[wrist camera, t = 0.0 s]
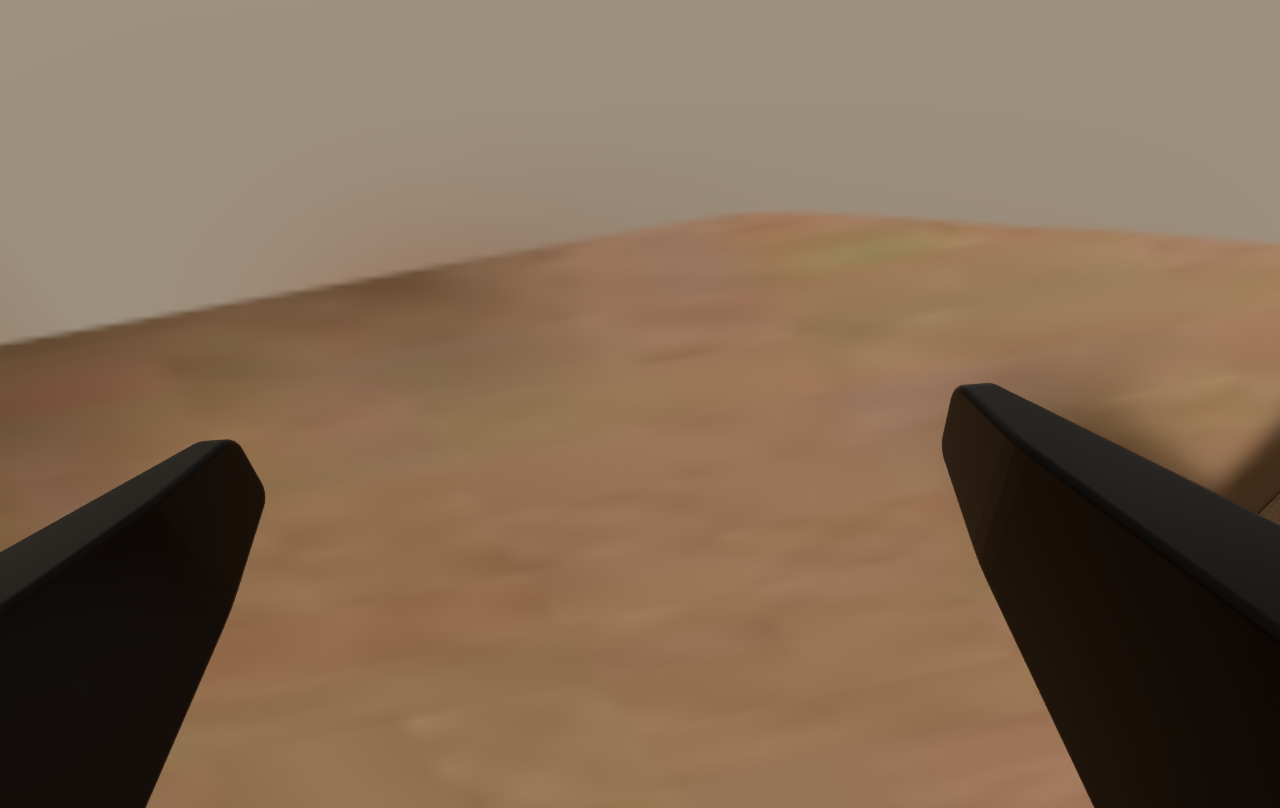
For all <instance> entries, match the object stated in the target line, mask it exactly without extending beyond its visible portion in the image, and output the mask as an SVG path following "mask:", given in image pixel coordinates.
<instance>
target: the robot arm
mask: <svg viewBox="0 0 1280 808" xmlns="http://www.w3.org/2000/svg"><path fill="white" fill-rule="evenodd" d="M942 452H943V457H944V461H945V464H946V467H947V470H948V473H949V476H950V479H951V482H952V485H953V488H954V491H955V494H956V497H957V500H958V503H959V506H960V509H961V512H962V515H963V518H964V521H965V524H966V527H967V530H968V533H969V536H970V539H971V542H972V545H973V548H974V550H975V553H976V556H977V559H978V561H979V564H980V566H981V569H982V571H983V573H984V575H985V578H986V580H987V582H988V584H989V586H990V588H991V591H992V593H993V595H994V597H995V599H996V601H997V603H998V605H999V608H1000V610H1001V612H1002V614H1003V616H1004V618H1005V620H1006V622H1007V624H1008V627H1009V629H1010V631H1011V633H1012V635H1013V637H1014V639H1015V641H1016V643H1017V646H1018V648H1019V650H1020V652H1021V654H1022V656H1023V658H1024V660H1025V662H1026V665H1027V667H1028V669H1029V671H1030V673H1031V675H1032V677H1033V679H1034V682H1035V684H1036V686H1037V688H1038V690H1039V692H1040V694H1041V696H1042V698H1043V701H1044V703H1045V705H1046V707H1047V709H1048V711H1049V713H1050V715H1051V717H1052V720H1053V722H1054V724H1055V726H1056V728H1057V730H1058V732H1059V734H1060V737H1061V739H1062V741H1063V743H1064V745H1065V747H1066V749H1067V751H1068V753H1069V756H1070V758H1071V760H1072V762H1073V764H1074V766H1075V768H1076V770H1077V772H1078V775H1079V777H1080V779H1081V781H1082V783H1083V785H1084V787H1085V789H1086V791H1087V794H1088V796H1089V798H1090V800H1091V802H1092V804H1093V806H1094V808H1280V525H1279V524H1277V523H1275V522H1273V521H1271V520H1269V519H1267V518H1265V517H1263V516H1261V515H1259V514H1257V513H1255V512H1253V511H1251V510H1249V509H1247V508H1245V507H1243V506H1241V505H1239V504H1237V503H1235V502H1233V501H1231V500H1229V499H1227V498H1225V497H1223V496H1220V495H1218V494H1216V493H1214V492H1212V491H1210V490H1208V489H1206V488H1204V487H1202V486H1200V485H1198V484H1196V483H1194V482H1192V481H1190V480H1188V479H1186V478H1184V477H1182V476H1180V475H1178V474H1176V473H1174V472H1172V471H1170V470H1168V469H1166V468H1164V467H1162V466H1160V465H1158V464H1156V463H1154V462H1152V461H1150V460H1148V459H1146V458H1144V457H1142V456H1139V455H1137V454H1135V453H1133V452H1131V451H1129V450H1127V449H1125V448H1123V447H1121V446H1119V445H1117V444H1115V443H1113V442H1111V441H1109V440H1107V439H1105V438H1103V437H1101V436H1099V435H1097V434H1095V433H1093V432H1091V431H1089V430H1087V429H1085V428H1083V427H1081V426H1079V425H1077V424H1075V423H1073V422H1071V421H1069V420H1067V419H1065V418H1063V417H1060V416H1058V415H1056V414H1054V413H1052V412H1050V411H1048V410H1046V409H1044V408H1042V407H1040V406H1038V405H1036V404H1034V403H1032V402H1030V401H1028V400H1026V399H1024V398H1022V397H1020V396H1018V395H1016V394H1014V393H1012V392H1010V391H1008V390H1006V389H1004V388H1002V387H1000V386H998V385H995V384H992V383H982V384H969V385H960V386H959V387H957V388H956V389H955V390H954V392H953V394H952V397H951V401H950V405H949V410H948V414H947V419H946V423H945V428H944V433H943V437H942ZM264 504H265V491H264V487H263V485H262V483H261V481H260V479H259V477H258V476H257V474H256V472H255V470H254V469H253V467H252V465H251V463H250V461H249V460H248V458H247V456H246V454H245V453H244V451H243V449H242V448H241V446H240V445H239V444H238V443H236V442H235V441H232V440H228V439H226V440H212V441H202V442H198V443H196V444H193V445H192V446H190V447H188V448H186V449H185V450H183V451H181V452H179V453H177V454H176V455H174V456H172V457H170V458H168V459H167V460H165V461H163V462H161V463H159V464H158V465H156V466H154V467H152V468H151V469H149V470H147V471H145V472H143V473H142V474H140V475H138V476H136V477H134V478H133V479H131V480H129V481H127V482H125V483H124V484H122V485H120V486H118V487H116V488H115V489H113V490H111V491H109V492H108V493H106V494H104V495H102V496H100V497H99V498H97V499H95V500H93V501H91V502H90V503H88V504H86V505H84V506H82V507H81V508H79V509H77V510H75V511H74V512H72V513H70V514H68V515H66V516H65V517H63V518H61V519H59V520H57V521H56V522H54V523H52V524H50V525H48V526H47V527H45V528H43V529H41V530H39V531H38V532H36V533H34V534H32V535H31V536H29V537H27V538H25V539H23V540H22V541H20V542H18V543H16V544H14V545H13V546H11V547H9V548H7V549H5V550H4V551H2V552H0V808H146V806H147V804H148V801H149V799H150V797H151V794H152V792H153V790H154V787H155V785H156V783H157V781H158V778H159V776H160V774H161V771H162V769H163V767H164V764H165V762H166V760H167V757H168V755H169V753H170V751H171V748H172V746H173V744H174V741H175V739H176V737H177V734H178V732H179V730H180V728H181V725H182V723H183V721H184V718H185V716H186V714H187V711H188V709H189V707H190V705H191V702H192V700H193V698H194V695H195V693H196V691H197V688H198V686H199V684H200V681H201V679H202V677H203V675H204V672H205V670H206V668H207V665H208V663H209V661H210V658H211V656H212V654H213V652H214V649H215V647H216V645H217V642H218V640H219V638H220V635H221V633H222V631H223V629H224V626H225V624H226V621H227V619H228V616H229V614H230V611H231V609H232V606H233V603H234V600H235V597H236V594H237V591H238V588H239V585H240V582H241V579H242V575H243V572H244V569H245V566H246V563H247V559H248V556H249V553H250V550H251V547H252V543H253V540H254V537H255V534H256V531H257V527H258V524H259V521H260V518H261V515H262V511H263V508H264Z"/></svg>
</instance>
